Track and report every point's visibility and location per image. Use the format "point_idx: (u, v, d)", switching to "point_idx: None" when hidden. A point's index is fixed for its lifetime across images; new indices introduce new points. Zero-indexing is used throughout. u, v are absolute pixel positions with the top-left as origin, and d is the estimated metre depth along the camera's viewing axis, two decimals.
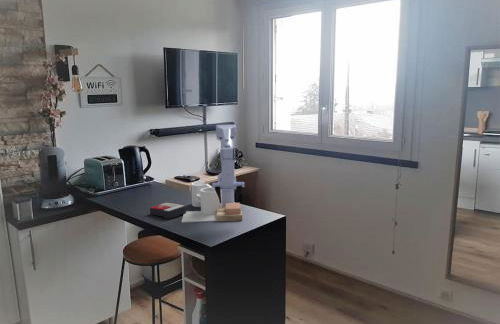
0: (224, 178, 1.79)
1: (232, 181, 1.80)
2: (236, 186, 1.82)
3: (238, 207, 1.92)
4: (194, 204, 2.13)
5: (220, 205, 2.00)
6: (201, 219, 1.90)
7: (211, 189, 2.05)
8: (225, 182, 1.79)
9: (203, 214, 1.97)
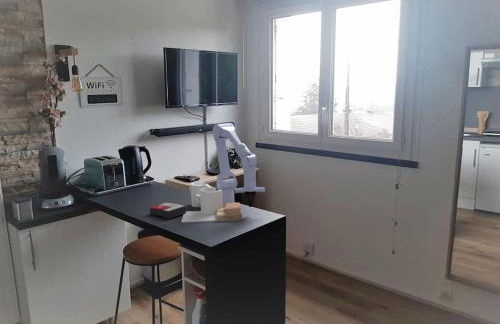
0: (246, 184, 1.92)
1: (254, 186, 1.93)
2: (257, 191, 1.95)
3: (238, 207, 1.92)
4: (194, 204, 2.13)
5: (220, 205, 2.00)
6: (201, 219, 1.90)
7: (211, 189, 2.05)
8: (247, 187, 1.92)
9: (203, 214, 1.97)
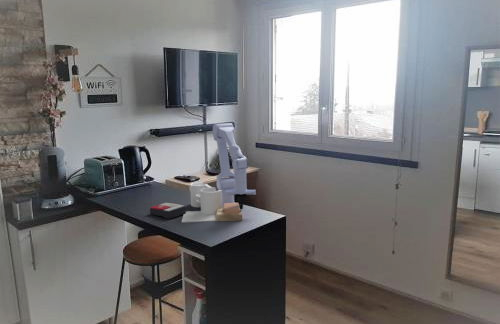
0: (237, 186, 1.92)
1: (244, 189, 1.93)
2: None
3: (237, 207, 1.92)
4: (193, 205, 2.12)
5: (220, 205, 2.00)
6: (201, 219, 1.90)
7: (211, 189, 2.05)
8: (238, 190, 1.92)
9: (203, 214, 1.97)
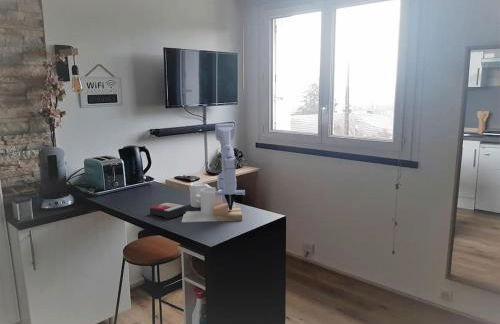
0: (226, 187, 1.92)
1: (233, 189, 1.92)
2: (237, 194, 1.95)
3: (226, 208, 1.91)
4: (193, 205, 2.12)
5: None
6: (201, 219, 1.90)
7: (211, 189, 2.05)
8: (227, 190, 1.92)
9: (203, 214, 1.97)
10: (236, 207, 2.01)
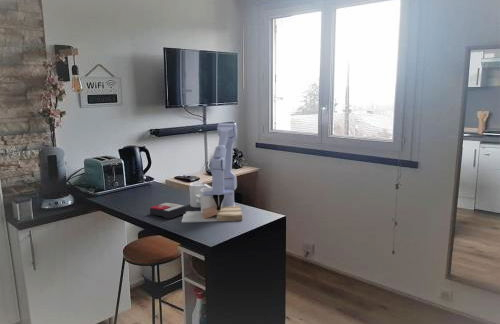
0: (214, 187, 1.91)
1: (222, 190, 1.92)
2: (226, 194, 1.94)
3: (214, 209, 1.91)
4: (193, 205, 2.12)
5: None
6: (201, 219, 1.90)
7: (210, 189, 2.05)
8: (215, 191, 1.91)
9: None
10: (236, 207, 2.01)
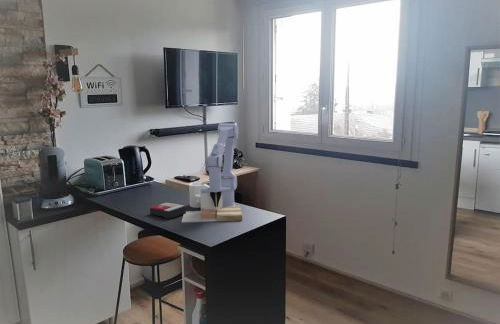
0: (211, 184, 1.91)
1: (219, 187, 1.92)
2: (223, 191, 1.94)
3: (213, 212, 1.91)
4: (192, 205, 2.12)
5: (220, 205, 2.00)
6: (201, 219, 1.90)
7: None
8: (212, 188, 1.91)
9: None
10: (236, 207, 2.01)
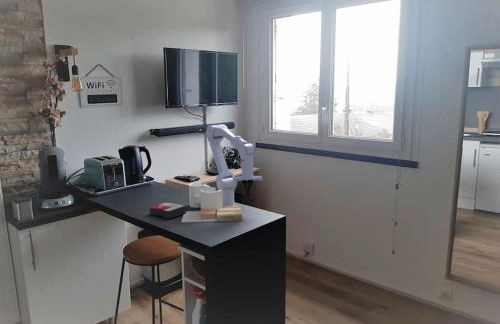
0: (244, 172, 1.94)
1: (251, 175, 1.95)
2: (254, 180, 1.97)
3: (213, 212, 1.91)
4: (192, 205, 2.12)
5: (221, 205, 2.00)
6: (201, 219, 1.90)
7: (210, 189, 2.05)
8: (244, 176, 1.94)
9: None
10: (236, 207, 2.01)
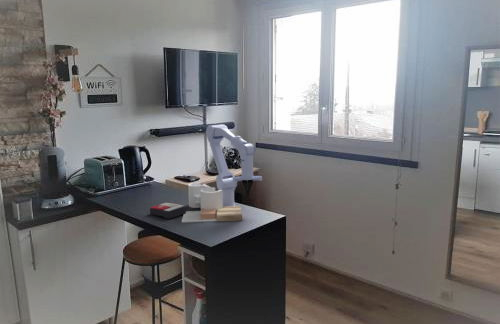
0: (244, 172, 1.94)
1: (251, 175, 1.95)
2: (254, 180, 1.97)
3: (213, 212, 1.91)
4: (192, 205, 2.11)
5: (221, 205, 2.00)
6: (201, 219, 1.90)
7: (210, 189, 2.05)
8: (244, 176, 1.94)
9: None
10: (236, 207, 2.01)
